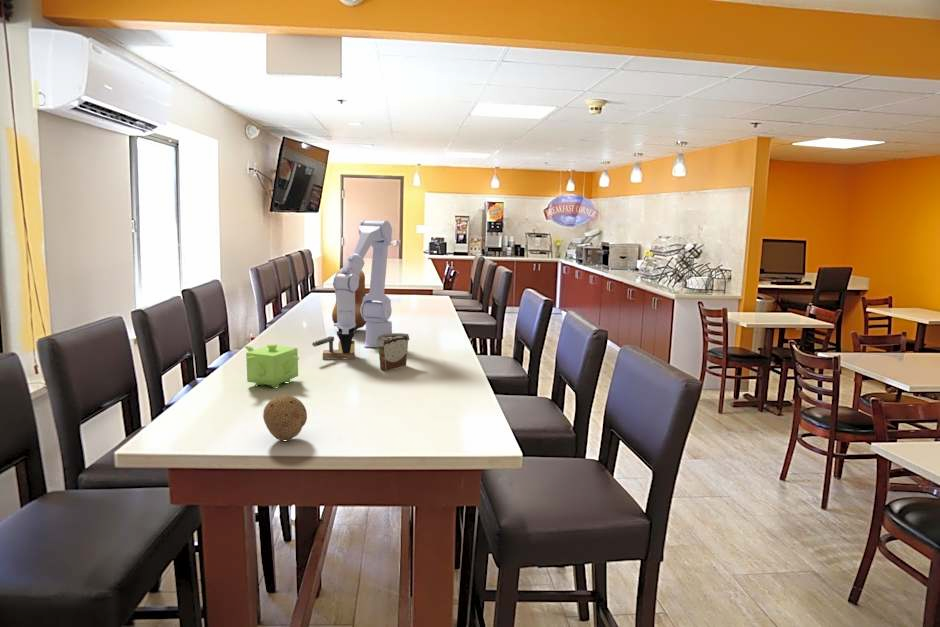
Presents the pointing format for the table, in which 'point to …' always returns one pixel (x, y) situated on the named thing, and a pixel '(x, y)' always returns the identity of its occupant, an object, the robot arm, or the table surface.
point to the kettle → (271, 364)
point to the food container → (392, 350)
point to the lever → (323, 341)
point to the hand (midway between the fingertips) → (346, 351)
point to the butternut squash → (358, 302)
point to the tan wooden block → (350, 349)
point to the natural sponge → (285, 417)
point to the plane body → (336, 353)
